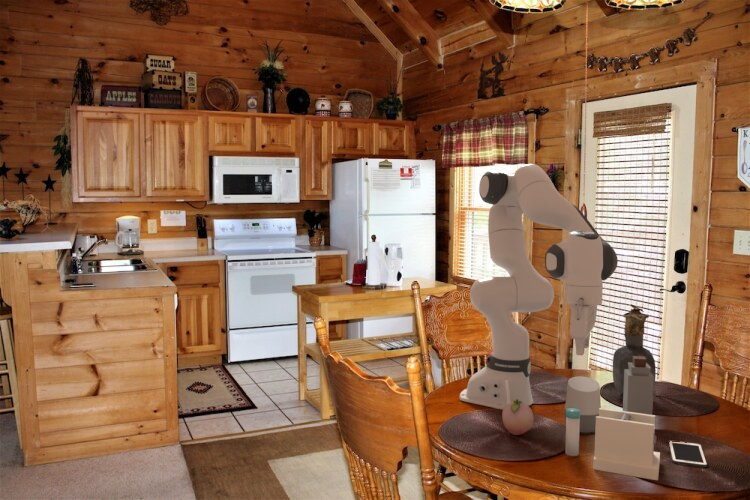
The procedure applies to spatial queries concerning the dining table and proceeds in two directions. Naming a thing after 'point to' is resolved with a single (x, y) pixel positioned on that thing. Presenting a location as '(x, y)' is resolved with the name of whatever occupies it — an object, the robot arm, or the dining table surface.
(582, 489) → the dining table surface
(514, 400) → the robot arm
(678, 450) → the cell phone
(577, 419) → the marker
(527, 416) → the decorative fruit
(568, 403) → the smart speaker
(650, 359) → the dark decorative bottle
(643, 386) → the perfume bottle
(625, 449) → the tilted socket
